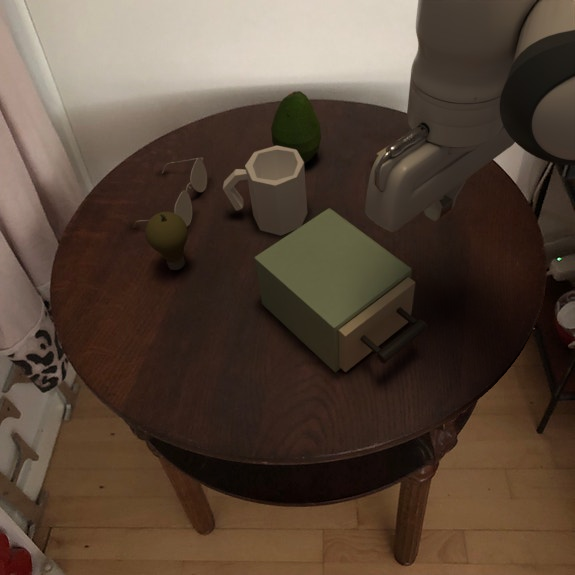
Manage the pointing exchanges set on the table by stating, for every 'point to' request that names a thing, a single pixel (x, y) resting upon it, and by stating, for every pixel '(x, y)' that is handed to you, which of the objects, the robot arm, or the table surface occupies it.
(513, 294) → the table surface
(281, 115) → the fruit
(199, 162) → the sunglasses
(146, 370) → the table surface
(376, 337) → the drawer
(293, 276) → the cabinet
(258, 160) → the mug
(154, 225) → the light bulb
